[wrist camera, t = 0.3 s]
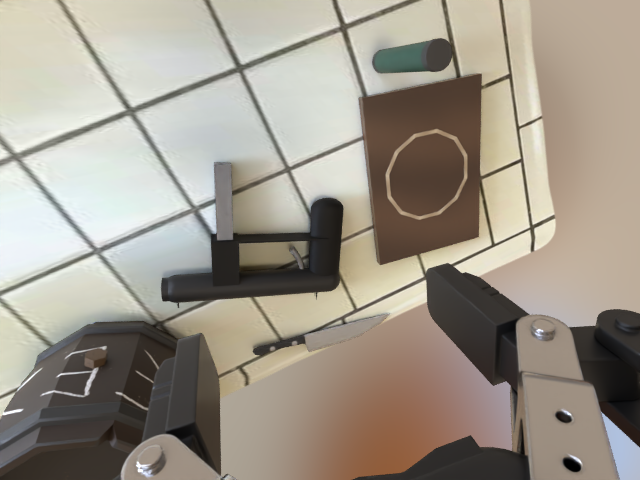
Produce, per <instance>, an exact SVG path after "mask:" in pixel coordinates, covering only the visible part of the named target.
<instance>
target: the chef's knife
mask: <svg viewBox="0 0 640 480" xmlns="http://www.w3.org/2000/svg"><path fill="white" fill-rule="evenodd" d="M389 314H391V313H389ZM389 314H385V315H380V316H376V317H372V318H368V319H363V320H359V321H355V322H352V323H348V324H344V325H340V326H336V327H332V328H329V329H325V330H321V331H317V332H313V333H309V334H306V335H301V336H298V337H294V338H291V339H287V340H283V341H280V342H276V343H272V344H268V345H264V346H259V347H257V348H255V349H254V350H253V353H254V354H255V355H261V356H262V355H264V354H266V353H268V352H271V351H273V350H277V349H281V348H284V347H289V346H295V345H299V344H306V347H307V349H308V351H309V352H311V351H314V350H317V349H321V348H324V347H327V346H331V345H334V344H337V343H341V342H344V341H347V340H350V339H353V338H355V337H357V336H360V335H362V334H363V333H365V332H367V331H368V330H370V329H372V328H373V327H375V326H377V325H378V324H380V323H381V322H382V321H383V320H384V319H385V318H386V317H387V316H388V315H389Z"/></svg>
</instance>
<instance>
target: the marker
mask: <svg viewBox="0 0 640 480" xmlns="http://www.w3.org/2000/svg"><path fill="white" fill-rule="evenodd" d="M451 58H452V48H451V45H450V44H449V42H448V41H447V40H445V39H442V38H439V39H433V40H431V41H426V42H421V43H416V44H410V45H405V46H400V47H394V48H389V49H384V50H379V51H378V52H376V54H375V55H374V57H373V62H372V63H373V67H374V69H375V70H376V71H377V72H378V73H400V72H422V71H431V72H438V71H442V70H444V69H445V68H446V67H447V66H448V65H449V63H450V61H451Z"/></svg>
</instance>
